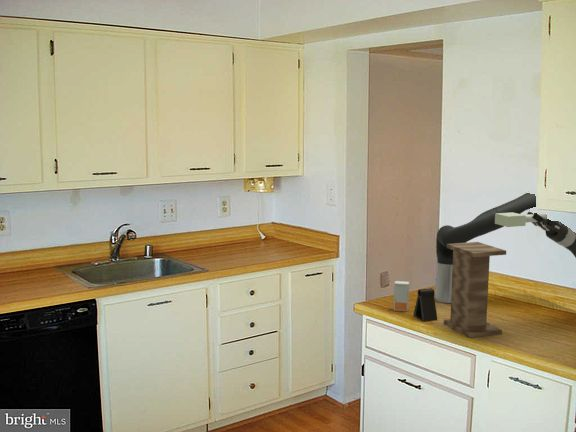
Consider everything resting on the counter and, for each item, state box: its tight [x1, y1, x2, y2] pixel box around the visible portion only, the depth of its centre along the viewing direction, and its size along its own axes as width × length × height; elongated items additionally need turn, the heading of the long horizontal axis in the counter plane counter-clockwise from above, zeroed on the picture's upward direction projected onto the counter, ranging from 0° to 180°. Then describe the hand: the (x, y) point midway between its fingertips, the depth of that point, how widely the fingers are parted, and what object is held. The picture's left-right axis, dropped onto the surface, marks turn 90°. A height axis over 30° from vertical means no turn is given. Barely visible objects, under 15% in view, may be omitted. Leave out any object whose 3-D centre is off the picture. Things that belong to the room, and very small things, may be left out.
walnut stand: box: [443, 241, 507, 338], centre depth 262 cm, size 18×14×32 cm
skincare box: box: [392, 280, 410, 313], centre depth 288 cm, size 6×4×12 cm
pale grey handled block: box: [495, 212, 547, 228], centre depth 265 cm, size 8×20×4 cm, turn 110°
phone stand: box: [413, 288, 438, 322], centre depth 277 cm, size 9×6×12 cm, turn 17°
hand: (531, 214), depth 266 cm, fingers closed on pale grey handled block, 3 cm apart
